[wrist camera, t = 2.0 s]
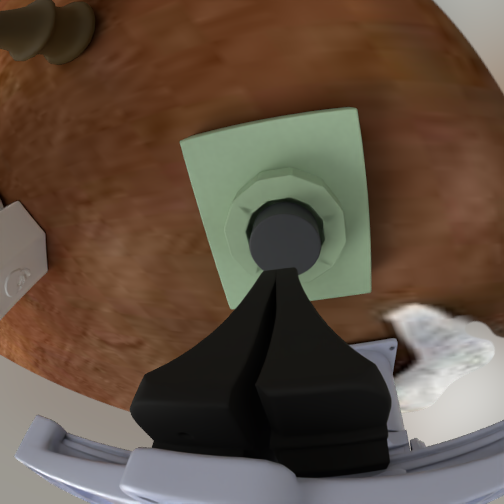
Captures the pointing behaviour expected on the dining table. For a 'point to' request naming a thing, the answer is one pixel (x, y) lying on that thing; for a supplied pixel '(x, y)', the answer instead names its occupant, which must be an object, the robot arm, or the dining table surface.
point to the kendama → (47, 31)
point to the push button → (285, 238)
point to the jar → (19, 254)
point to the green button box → (285, 195)
